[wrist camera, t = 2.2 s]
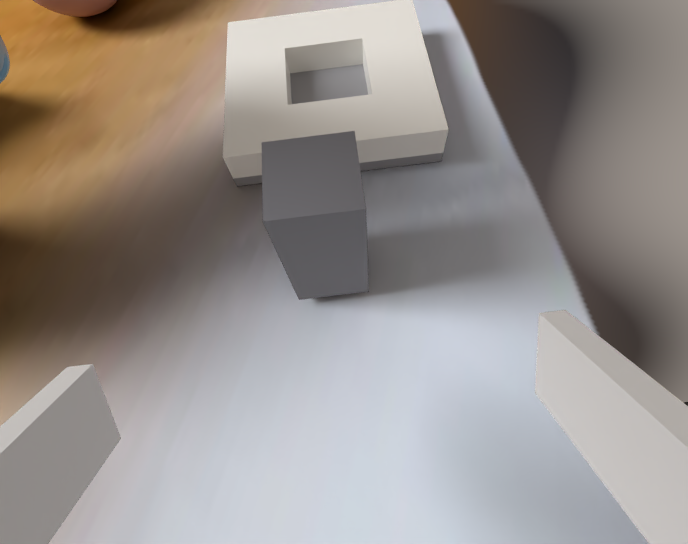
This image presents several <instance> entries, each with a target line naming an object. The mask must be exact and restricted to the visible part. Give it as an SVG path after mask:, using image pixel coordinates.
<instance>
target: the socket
mask: <svg viewBox="0 0 688 544" xmlns="http://www.w3.org/2000/svg"><path fill="white" fill-rule="evenodd" d="M448 130H449V129H448V125H447V122H446V118H445V115H444V111H443V107H442V104H441V100H440V97H439V93H438V90H437V86H436V82H435V79H434V75H433V72H432V68H431V65H430V61H429V57H428V54H427V50H426V47H425V43H424V40H423V36H422V32H421V29H420V25H419V22H418V18H417V15H416V11H415V7H414V4H413V0H396V1H388V2H381V3H373V4H365V5H358V6H350V7H342V8H335V9H327V10H320V11H312V12H304V13H297V14H289V15H281V16H274V17H266V18H258V19H251V20H243V21H235V22H228V35H227V60H226V85H225V110H224V135H223V159H224V161H225V163H226V165H227V167H228V169H229V171H230V173H231V175H232V177H233V179H234V181H235V183H236V185H237V186H243V185H251V184H259V183H262V142H269V141H277V140H285V139H293V138H301V137H309V136H317V135H325V134H333V133H341V132H349V131H355V137H356V144H357V151H358V158H359V165H360V171H365V170H373V169H381V168H389V167H398V166H406V165H414V164H422V163H430V162H438V161H442V157H443V152H444V148H445V143H446V139H447V135H448Z"/></svg>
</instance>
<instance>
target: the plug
mask: <svg viewBox="0 0 688 544" xmlns="http://www.w3.org/2000/svg"><path fill="white" fill-rule="evenodd" d="M262 211H263V223H264V225H265V228H266V230H267V232H268V234H269V236H270V238H271V240H272V243H273V245H274V247H275V249H276V251H277V253H278V256H279V258H280V260H281V262H282V264H283V266H284V268H285V271H286V273H287V275H288V277H289V279H290V281H291V283H292V286H293V288H294V290H295V292H296V294H297V296H298V298H299V300H300V299H309V298H317V297H326V296H335V295H343V294H352V293H360V292H369V288H368V257H367V225H366V206H365V199H364V192H363V185H362V178H361V171H360V165H359V158H358V151H357V144H356V137H355V131H349V132H341V133H333V134H325V135H317V136H309V137H301V138H293V139H285V140H277V141H269V142H262Z"/></svg>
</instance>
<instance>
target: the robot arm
mask: <svg viewBox="0 0 688 544" xmlns="http://www.w3.org/2000/svg"><path fill="white" fill-rule="evenodd" d="M9 67H10V61H9V55H8V52H7V49H6V46H5V44H4V42H3V40H2V38H1V36H0V83H1V82H2V81H3V80H4V79H5V78H6V76H7V74H8V72H9ZM535 394H536V395H537V396H538V398H539V399H540V400H541V402H542V403H543V404H544V406H545V407H546V408H547V410H548V411H549V412H550V413H551V415H552V416H553V417H554V419H555V420H556V421H557V423H558V424H559V425H560V427H561V428H562V429H563V431H564V432H565V433H566V435H567V436H568V437H569V439H570V440H571V441H572V443H573V444H574V445H575V447H576V448H577V449H578V451H579V452H580V453H581V455H582V456H583V457H584V458H585V460H586V461H587V462H588V464H589V465H590V466H591V468H592V469H593V470H594V472H595V473H596V474H597V476H598V477H599V478H600V480H601V481H602V482H603V484H604V485H605V486H606V488H607V489H608V490H609V492H610V493H611V494H612V496H613V497H614V498H615V500H616V501H617V502H618V503H619V505H620V506H621V507H622V509H623V510H624V511H625V513H626V514H627V515H628V517H629V518H630V519H631V521H632V522H633V523H634V525H635V526H636V527H637V529H638V530H639V531H640V533H641V534H642V535H643V537H644V538H645V539H646V541H647V542H648V543H649V544H688V402H684V403H683V402H682V401H680V400H679V399H678V398H677V397H675V396H674V395H673V394H672V393H670V392H669V391H668V390H667V389H665V388H664V387H662V386H661V385H660V384H659V383H658V382H656V381H655V380H654V379H653V378H651V377H650V376H649V375H647V374H646V373H645V372H644V371H642V370H641V369H640V368H639V367H637V366H636V365H635V364H634V363H632V362H631V361H630V360H628V359H627V358H626V357H625V356H623V355H622V354H621V353H620V352H618V351H617V350H616V349H614V348H613V347H612V346H611V345H609V344H608V343H607V342H605V341H604V340H603V339H602V338H601V337H599V336H598V335H597V334H595V333H594V332H593V331H592V330H590V329H589V328H588V327H587V326H585V325H584V324H583V323H581V322H580V321H579V320H578V319H576V318H575V317H574V316H573V315H571V314H570V313H569V312H567V311H566V310H562V311H553V312H544V313H539V323H538V342H537V362H536V381H535ZM120 439H121V437H120V434H119V432H118V429H117V427H116V424H115V421H114V419H113V416H112V413H111V411H110V408H109V405H108V403H107V400H106V398H105V395H104V392H103V390H102V387H101V384H100V382H99V379H98V377H97V374H96V371H95V369H94V366H93V364H88V365H79V366H71V367H67V368H65V369H64V370H63V371H62V372H61V373H60V374H59V375H58V376H56V377H55V378H54V379H53V380H52V381H51V382H50V383H49V384H47V385H46V386H45V387H44V388H43V389H42V390H41V391H40V392H38V393H37V394H36V395H35V396H34V397H33V398H32V399H31V400H29V401H28V402H27V403H26V404H25V405H24V406H23V407H22V408H20V409H19V410H18V411H17V412H16V413H15V414H14V415H13V416H11V417H10V418H9V419H8V420H7V421H6V422H5V423H4V424H2V425H1V426H0V544H48V543H49V542H50V540H51V539H52V537H53V536H54V535H55V533H56V532H57V530H58V529H59V527H60V526H61V524H62V523H63V522H64V520H65V519H66V517H67V516H68V514H69V513H70V511H71V510H72V508H73V507H74V506H75V504H76V503H77V501H78V500H79V498H80V497H81V495H82V494H83V493H84V491H85V490H86V488H87V487H88V485H89V484H90V482H91V481H92V480H93V478H94V477H95V475H96V474H97V472H98V471H99V469H100V468H101V467H102V465H103V464H104V462H105V461H106V459H107V458H108V456H109V455H110V454H111V452H112V451H113V449H114V448H115V446H116V445H117V443H118V442H119V441H120Z"/></svg>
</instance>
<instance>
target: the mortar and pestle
mask: <svg viewBox="0 0 688 544" xmlns="http://www.w3.org/2000/svg"><path fill="white" fill-rule="evenodd" d="M33 1H35V2H36V3H38V4H39V5H41V6H43V7H45V8H47V9H49V10H52V11H54V12H57V13H60V14H64V15H69V16H77V17H86V16H93V15H97V14H99V13H102V12H104V11H106V10H107V9H109V8H111V7H112V6H113V5H114V4H115V3H116V2H117V0H33Z"/></svg>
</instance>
